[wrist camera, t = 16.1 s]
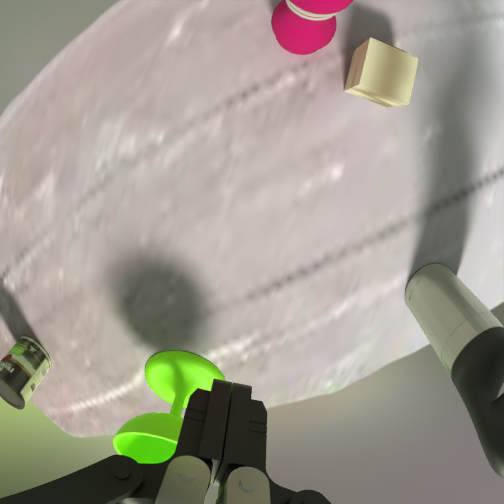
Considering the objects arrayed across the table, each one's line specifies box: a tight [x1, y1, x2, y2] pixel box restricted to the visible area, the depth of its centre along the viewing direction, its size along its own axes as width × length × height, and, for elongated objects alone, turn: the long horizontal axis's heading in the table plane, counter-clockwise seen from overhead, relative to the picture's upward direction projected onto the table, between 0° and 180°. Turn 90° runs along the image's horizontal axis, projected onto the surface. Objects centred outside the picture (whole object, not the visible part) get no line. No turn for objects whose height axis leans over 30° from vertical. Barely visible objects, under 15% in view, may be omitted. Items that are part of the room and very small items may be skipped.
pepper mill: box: [271, 0, 353, 55], centre depth 22 cm, size 7×7×20 cm
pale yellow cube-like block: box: [344, 37, 418, 107], centre depth 29 cm, size 6×6×7 cm
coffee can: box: [0, 336, 51, 409], centre depth 49 cm, size 10×10×14 cm
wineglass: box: [113, 351, 226, 464], centre depth 45 cm, size 16×16×18 cm
